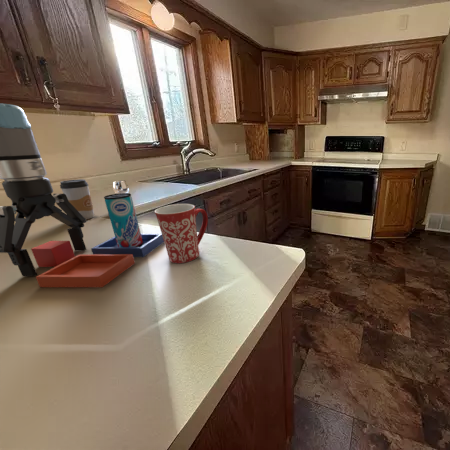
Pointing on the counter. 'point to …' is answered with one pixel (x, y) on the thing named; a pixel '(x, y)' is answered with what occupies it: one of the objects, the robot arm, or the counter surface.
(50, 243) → the red block
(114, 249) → the blue tray
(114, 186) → the wineglass
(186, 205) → the mug
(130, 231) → the beverage can
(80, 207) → the coffee cup
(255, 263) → the counter surface
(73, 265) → the red tray
